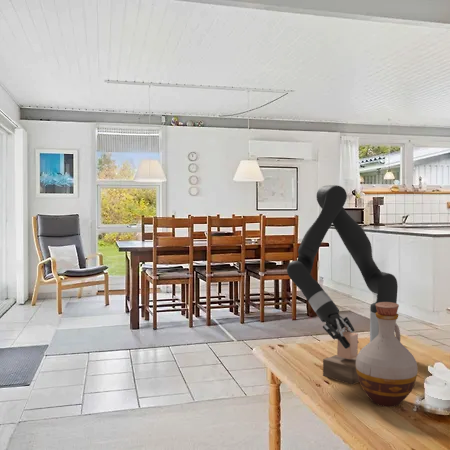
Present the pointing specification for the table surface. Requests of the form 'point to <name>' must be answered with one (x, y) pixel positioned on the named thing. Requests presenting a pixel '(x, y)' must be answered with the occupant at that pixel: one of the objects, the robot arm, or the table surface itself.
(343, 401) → the table surface
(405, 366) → the jug
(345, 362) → the walnut block
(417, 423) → the table surface
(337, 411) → the table surface
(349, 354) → the terracotta block
